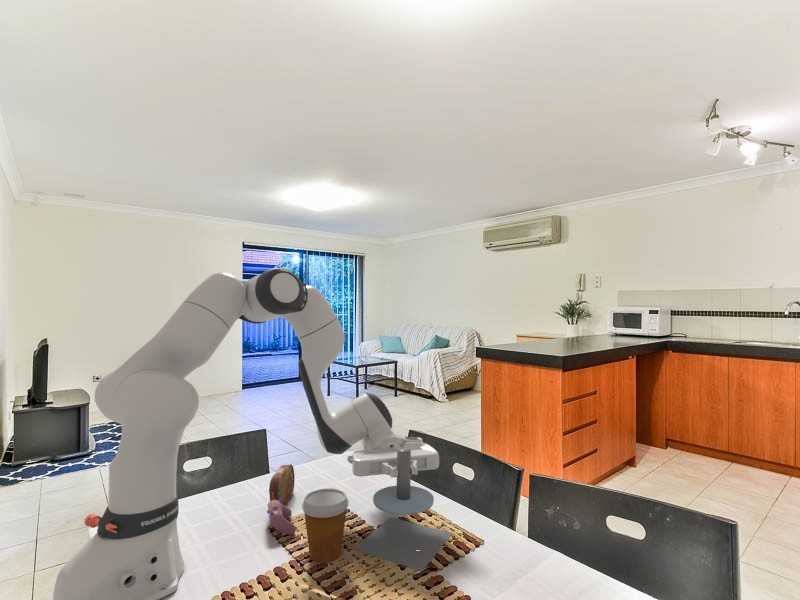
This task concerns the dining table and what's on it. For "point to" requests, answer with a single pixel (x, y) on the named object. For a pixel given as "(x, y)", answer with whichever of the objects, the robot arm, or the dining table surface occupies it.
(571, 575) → the dining table surface
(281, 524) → the video game controller
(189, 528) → the dining table surface
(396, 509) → the lid
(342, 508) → the disposable coffee cup
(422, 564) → the mat
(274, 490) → the tin
